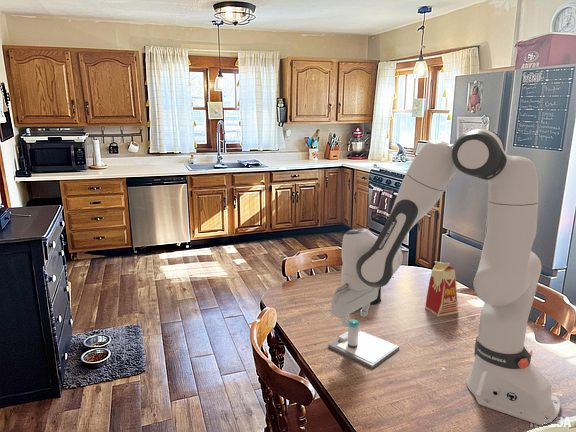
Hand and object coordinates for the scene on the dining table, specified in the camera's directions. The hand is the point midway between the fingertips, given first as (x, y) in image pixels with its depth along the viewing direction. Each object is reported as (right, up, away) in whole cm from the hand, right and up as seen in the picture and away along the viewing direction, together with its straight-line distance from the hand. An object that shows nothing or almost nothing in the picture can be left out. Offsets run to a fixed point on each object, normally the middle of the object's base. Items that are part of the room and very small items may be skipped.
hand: (355, 320), depth 136 cm
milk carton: (+37, -3, +29) cm, 48 cm away
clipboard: (+3, -10, +3) cm, 11 cm away
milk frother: (+9, -2, +36) cm, 37 cm away
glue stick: (0, -9, +3) cm, 9 cm away
